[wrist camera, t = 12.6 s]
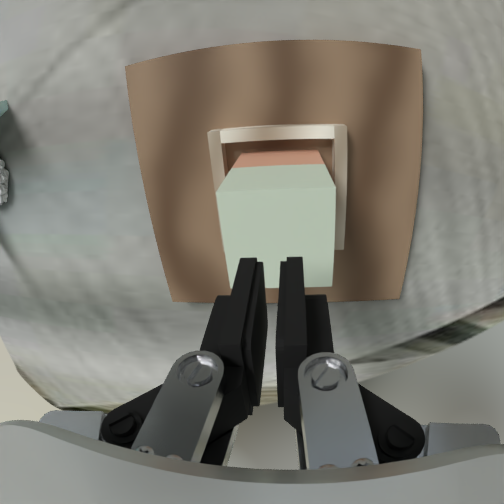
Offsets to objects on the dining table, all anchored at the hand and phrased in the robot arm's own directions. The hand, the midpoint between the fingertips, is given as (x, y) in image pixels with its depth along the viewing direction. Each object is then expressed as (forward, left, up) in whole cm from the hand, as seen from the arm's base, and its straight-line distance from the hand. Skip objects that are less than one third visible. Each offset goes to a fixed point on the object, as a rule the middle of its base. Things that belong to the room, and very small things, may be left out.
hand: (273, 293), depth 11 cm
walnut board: (0, 0, -13) cm, 13 cm away
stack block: (0, 0, -12) cm, 12 cm away
